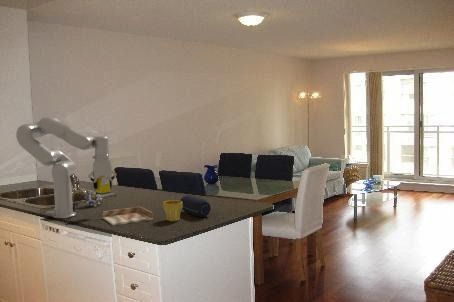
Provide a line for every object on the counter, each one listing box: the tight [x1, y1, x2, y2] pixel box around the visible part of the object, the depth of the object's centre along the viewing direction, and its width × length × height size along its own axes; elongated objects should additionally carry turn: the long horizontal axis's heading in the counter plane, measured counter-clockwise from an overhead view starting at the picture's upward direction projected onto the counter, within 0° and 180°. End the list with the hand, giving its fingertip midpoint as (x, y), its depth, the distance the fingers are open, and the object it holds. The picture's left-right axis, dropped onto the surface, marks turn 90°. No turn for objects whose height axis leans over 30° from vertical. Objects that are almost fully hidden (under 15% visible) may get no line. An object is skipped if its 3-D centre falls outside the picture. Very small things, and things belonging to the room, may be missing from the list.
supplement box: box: [95, 175, 111, 196], centre depth 256 cm, size 6×6×11 cm
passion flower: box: [83, 190, 103, 208], centre depth 286 cm, size 11×11×12 cm
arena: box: [102, 205, 154, 226], centre depth 246 cm, size 22×20×4 cm
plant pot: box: [162, 199, 183, 222], centre depth 241 cm, size 10×10×10 cm
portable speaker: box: [179, 194, 212, 218], centre depth 254 cm, size 25×10×10 cm, turn 31°
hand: (102, 188), depth 256 cm, fingers closed on supplement box, 7 cm apart
